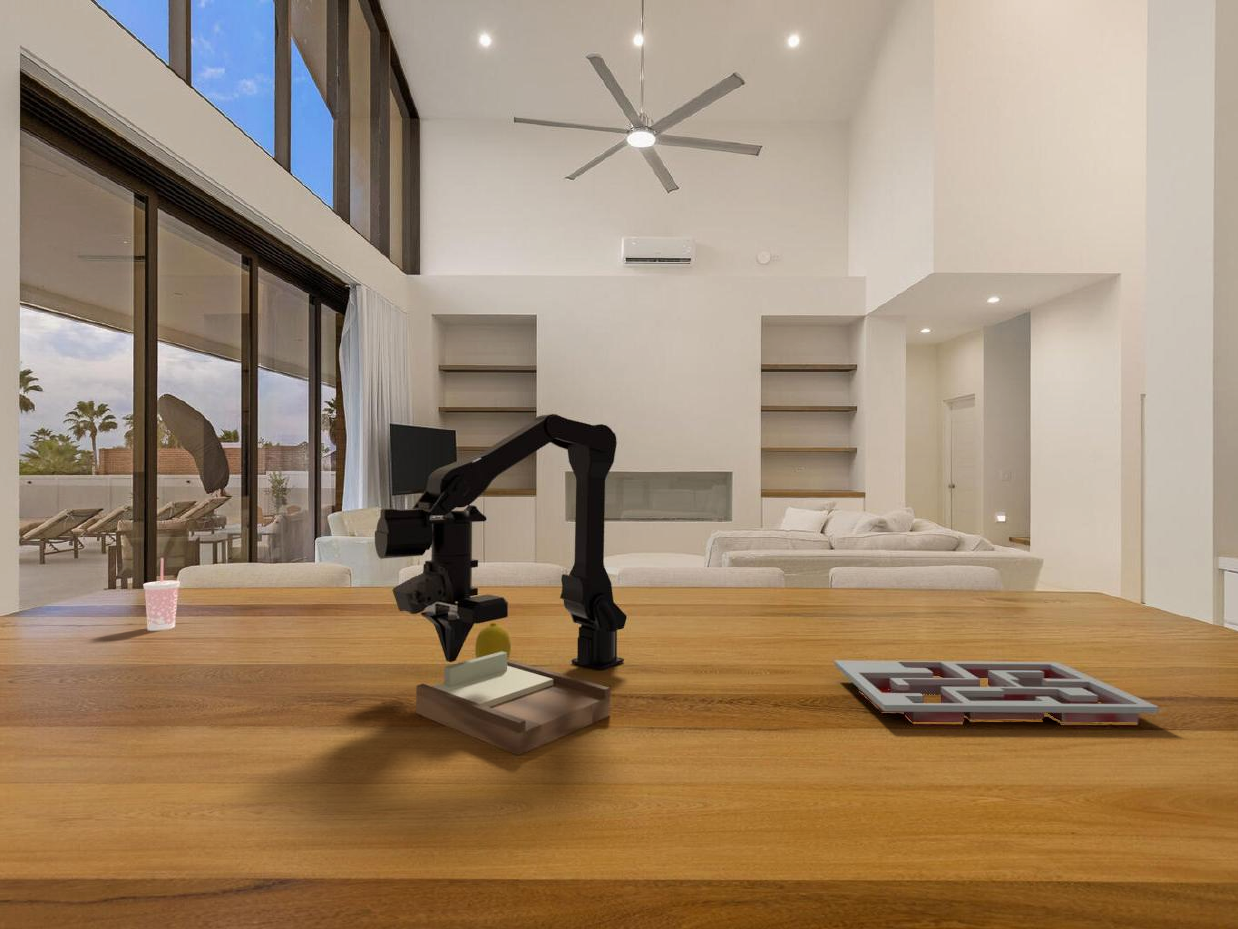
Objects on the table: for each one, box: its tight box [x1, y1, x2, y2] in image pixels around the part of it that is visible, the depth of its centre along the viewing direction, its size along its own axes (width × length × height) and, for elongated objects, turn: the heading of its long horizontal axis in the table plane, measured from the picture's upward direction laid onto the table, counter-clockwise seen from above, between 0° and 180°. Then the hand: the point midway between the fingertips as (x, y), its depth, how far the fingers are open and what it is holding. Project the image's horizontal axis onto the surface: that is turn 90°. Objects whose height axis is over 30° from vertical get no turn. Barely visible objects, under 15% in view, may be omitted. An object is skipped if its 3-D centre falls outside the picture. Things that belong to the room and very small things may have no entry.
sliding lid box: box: [415, 658, 611, 757], centre depth 88 cm, size 16×20×4 cm
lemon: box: [474, 622, 512, 660], centre depth 106 cm, size 6×6×8 cm
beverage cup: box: [142, 557, 181, 632], centre depth 134 cm, size 6×6×14 cm
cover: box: [431, 652, 553, 707], centre depth 91 cm, size 13×10×3 cm
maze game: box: [833, 659, 1160, 723], centre depth 95 cm, size 35×20×3 cm, turn 90°
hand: (450, 661), depth 97 cm, fingers closed
